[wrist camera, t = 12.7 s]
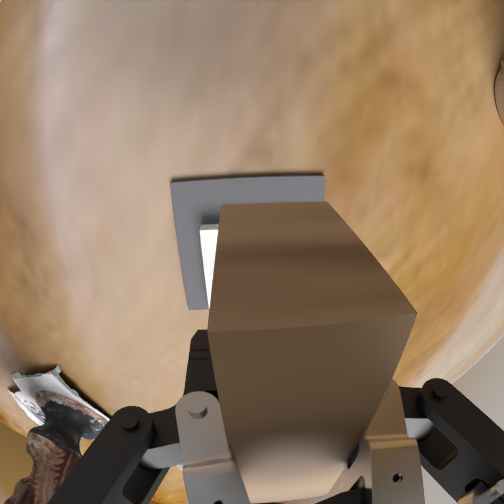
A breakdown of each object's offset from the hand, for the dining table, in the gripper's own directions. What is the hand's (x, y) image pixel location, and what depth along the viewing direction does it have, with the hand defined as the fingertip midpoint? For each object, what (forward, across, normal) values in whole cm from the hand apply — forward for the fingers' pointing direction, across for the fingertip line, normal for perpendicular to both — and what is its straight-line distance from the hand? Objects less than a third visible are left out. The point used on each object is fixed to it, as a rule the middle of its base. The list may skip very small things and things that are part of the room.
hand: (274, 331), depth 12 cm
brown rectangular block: (+1, 0, 0) cm, 1 cm away
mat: (+18, 0, +5) cm, 19 cm away
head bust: (+18, +38, +37) cm, 56 cm away
